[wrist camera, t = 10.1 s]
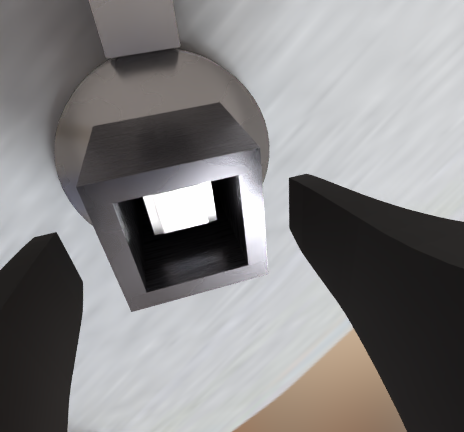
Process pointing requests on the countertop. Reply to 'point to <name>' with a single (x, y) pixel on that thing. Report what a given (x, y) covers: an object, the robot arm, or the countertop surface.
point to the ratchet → (150, 102)
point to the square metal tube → (169, 178)
